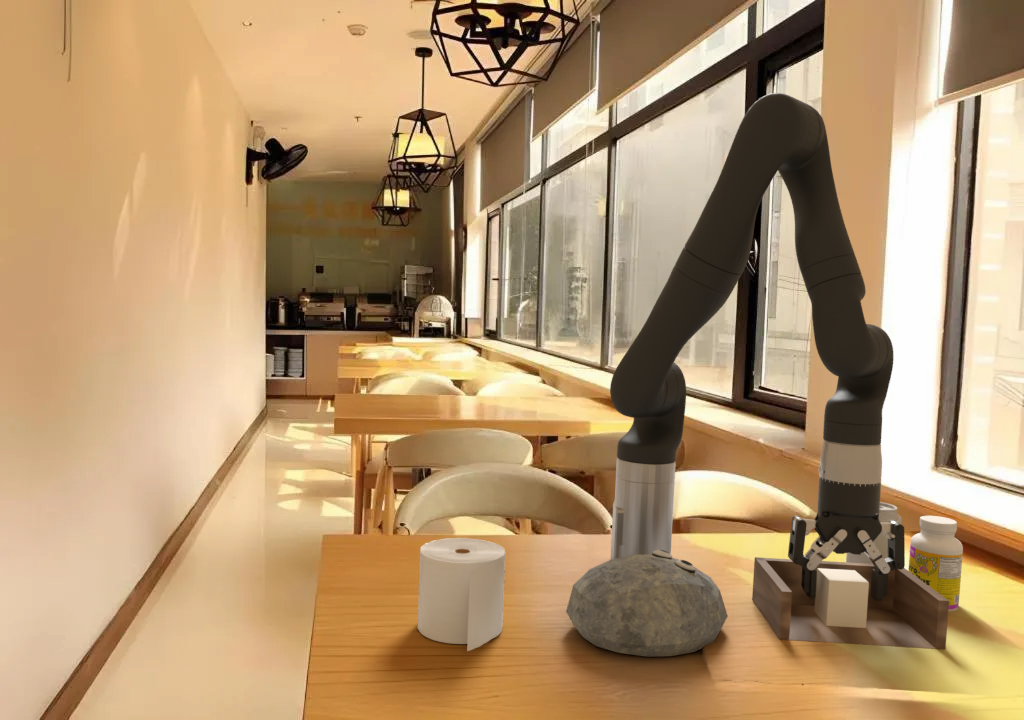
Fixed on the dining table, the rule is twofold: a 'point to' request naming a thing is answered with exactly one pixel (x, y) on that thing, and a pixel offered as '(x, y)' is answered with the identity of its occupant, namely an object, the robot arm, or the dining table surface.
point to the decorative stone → (647, 606)
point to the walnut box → (891, 622)
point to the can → (881, 541)
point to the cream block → (841, 598)
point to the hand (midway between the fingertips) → (843, 597)
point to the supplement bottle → (938, 557)
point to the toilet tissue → (461, 591)
